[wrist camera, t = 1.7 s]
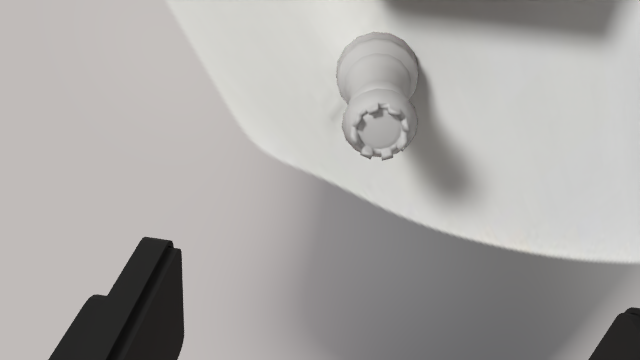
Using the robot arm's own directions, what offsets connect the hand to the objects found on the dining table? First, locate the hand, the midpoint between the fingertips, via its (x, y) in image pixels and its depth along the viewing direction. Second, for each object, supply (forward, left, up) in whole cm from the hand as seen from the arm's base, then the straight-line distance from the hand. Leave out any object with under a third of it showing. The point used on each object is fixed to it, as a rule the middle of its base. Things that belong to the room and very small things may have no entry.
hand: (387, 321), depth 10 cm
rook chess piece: (-1, +1, -19) cm, 19 cm away
